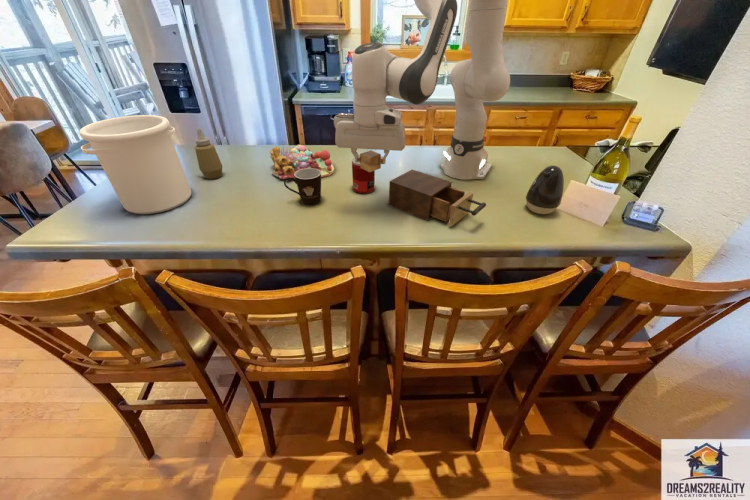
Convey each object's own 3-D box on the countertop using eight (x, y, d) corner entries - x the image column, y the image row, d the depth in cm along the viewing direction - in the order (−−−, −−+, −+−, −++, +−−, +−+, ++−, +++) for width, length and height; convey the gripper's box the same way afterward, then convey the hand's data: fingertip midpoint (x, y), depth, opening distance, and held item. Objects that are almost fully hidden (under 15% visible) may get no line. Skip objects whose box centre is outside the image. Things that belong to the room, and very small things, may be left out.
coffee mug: (328, 197, 111) (325, 170, 105) (316, 208, 105) (313, 180, 99) (298, 192, 114) (294, 165, 108) (285, 203, 108) (280, 175, 102)
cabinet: (448, 205, 107) (452, 182, 102) (428, 220, 99) (431, 195, 94) (410, 191, 115) (412, 169, 110) (388, 204, 107) (389, 181, 102)
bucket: (137, 227, 95) (93, 143, 80) (102, 207, 105) (57, 128, 90) (213, 194, 112) (188, 120, 97) (177, 179, 122) (149, 110, 107)
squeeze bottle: (197, 178, 123) (181, 130, 112) (213, 170, 129) (199, 124, 118) (214, 182, 120) (198, 133, 110) (229, 174, 126) (216, 127, 116)
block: (371, 164, 99) (371, 150, 96) (380, 168, 96) (380, 154, 93) (360, 167, 96) (359, 153, 94) (369, 172, 94) (369, 157, 91)
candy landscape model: (281, 187, 117) (276, 163, 112) (264, 165, 133) (259, 143, 128) (342, 173, 127) (341, 150, 122) (319, 155, 144) (317, 134, 138)
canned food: (372, 194, 113) (372, 165, 106) (350, 192, 114) (349, 163, 107) (376, 185, 119) (376, 156, 112) (355, 183, 120) (354, 155, 113)
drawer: (485, 217, 99) (490, 198, 95) (468, 233, 92) (473, 212, 88) (430, 197, 109) (433, 179, 105) (411, 210, 102) (413, 191, 98)
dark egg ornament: (515, 208, 105) (529, 164, 96) (533, 200, 110) (548, 157, 101) (544, 221, 99) (561, 176, 90) (562, 212, 104) (580, 167, 95)
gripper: (329, 115, 86) (334, 164, 94) (405, 118, 83) (403, 169, 91) (336, 109, 91) (339, 157, 99) (407, 112, 88) (405, 160, 96)
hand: (370, 162), depth 95 cm, fingers closed on block, 6 cm apart
